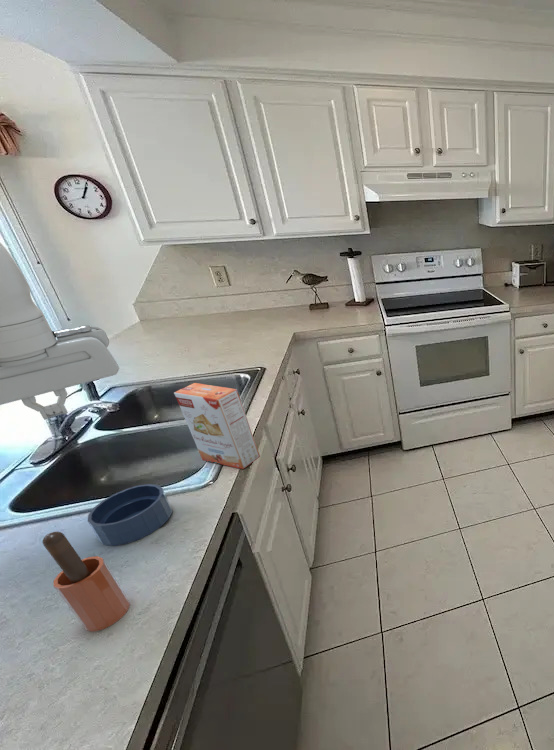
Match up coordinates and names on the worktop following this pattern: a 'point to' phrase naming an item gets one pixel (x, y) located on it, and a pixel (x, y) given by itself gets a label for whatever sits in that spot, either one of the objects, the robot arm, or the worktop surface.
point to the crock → (94, 596)
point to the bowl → (130, 514)
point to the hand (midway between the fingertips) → (56, 415)
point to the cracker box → (218, 424)
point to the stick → (65, 556)
